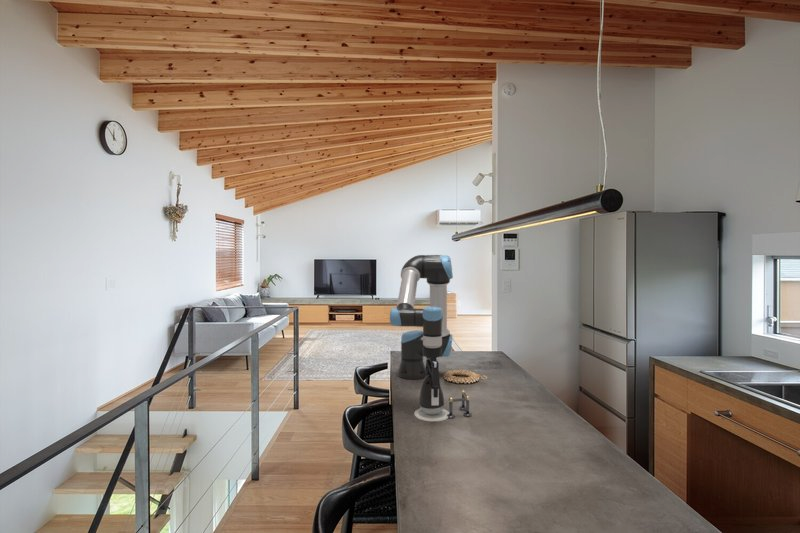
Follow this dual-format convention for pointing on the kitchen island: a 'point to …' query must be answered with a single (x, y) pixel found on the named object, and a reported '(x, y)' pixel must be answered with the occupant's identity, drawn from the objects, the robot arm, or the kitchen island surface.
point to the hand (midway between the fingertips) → (432, 399)
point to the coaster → (431, 416)
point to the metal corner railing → (463, 399)
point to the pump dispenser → (426, 398)
